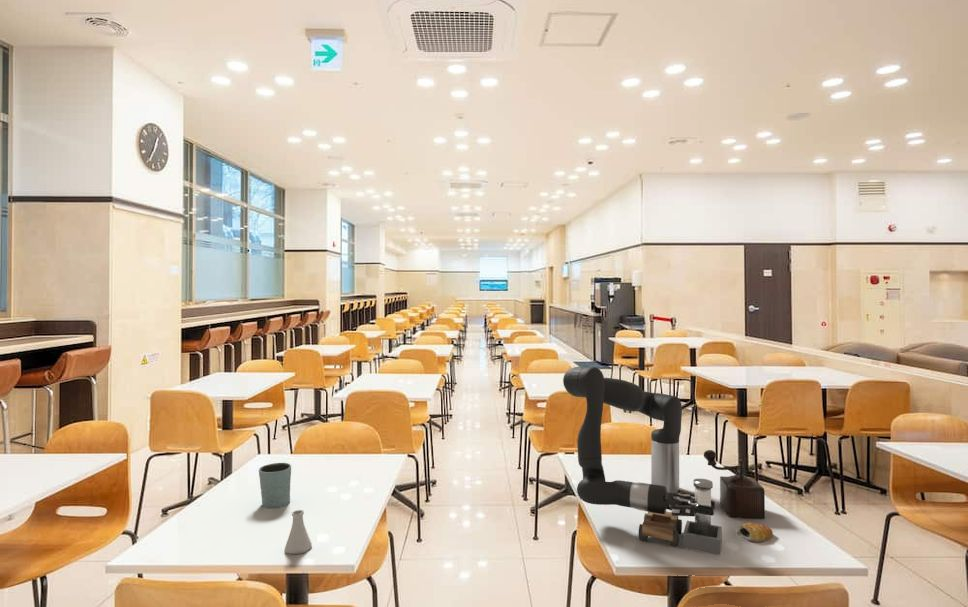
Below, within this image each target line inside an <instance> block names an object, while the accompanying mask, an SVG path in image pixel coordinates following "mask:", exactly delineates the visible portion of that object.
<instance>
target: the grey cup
mask: <svg viewBox="0 0 968 607" xmlns="http://www.w3.org/2000/svg"><path fill="white" fill-rule="evenodd" d="M258 477H259V484H260V485H259V486H260V491H261V492H260V494H261V495H260V496H261V504H262V505H261V506H262V508H265V507H266V508H265V509H277V507H279V508H283V507H285V506H288V504H290V501H291V478H292V464H290V463H287V462H277V463H276V462H275V463H274V462H273V463H269V464H266V465H263V466H261V467H259V469H258Z"/></svg>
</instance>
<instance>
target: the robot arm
mask: <svg viewBox="0 0 968 607" xmlns="http://www.w3.org/2000/svg"><path fill="white" fill-rule="evenodd" d="M562 384H563V387H564V389H565V391H566V392H567V393H569V394H570V395H571V396H573V397H575V398H585V399H586V400H585V401H586V413H585V416H584V420H583V423H582V424H581V427H580V428H579V432H578V434H577V435H578V436H577V441H576V443H577V444H576V445H577V448H576V450H577V459H578V460H577V461H578V465H579V467H581V471H582V479H581V480H580V481H579V482H578V484H577V487H576V493H577V496H578V497H579V499H580V500H581V501H583V502H585V503H587V504H591V505H598V506H599V505H602V506H605V505H607V506H608V505H609V506H610V505H616V506H619V507H626V508H632V509H634V510H638V511H642V512H647V513H648V512H653V513H659V514H665V513H666V511H667V510H668V511H671V512H672V515H674V516H678V517H695V514H698V513H699V514H705V515H711V517H712V516H714V513H715V508H716V503H715V500H712V499H711V506H706V505H700V504H699V506H698V504H695V493H692V492H688V491H685V490H681V489H680V436H681V433H682V417H683V406H682V401H681V399H680V398H679V397H678V396H676V395H672V394H671V395H670V394H664V393H659V392H649V391H644V390H643V388H641V386H639V385H637V384H636V383H633V382H631V381H627V380H624V379H619V378H612V377H604V374H603V372H602V370H600V368H598V367H595V366H574V367H572V368H569V369H568V370H567V371H566V372H565V373H564V375H563V379H562ZM604 404H605V405H608V406H611V407H613V408H617V409H620V410H623V411H626V412H639V413H640V414H643V415H645V416H647V417H649V418H652V419H653V420H656V421H662V422H663V426H662V428H656V429H654V430H652V431H651V433H650V434H651V436H650V437H651V439H650V440H651V442H650V444H651V445H650V447H651V448H650V449H651V455H650V456H651V457H650V458H651V459H650V461H651V465H650V466H651V470H650V471H651V478H650V481H651V482H650V483H646V482H635V481H633V482H632V481H628V480H627V481H626V480H620V479H617V480H613V481H606V476H605V471H604V466H603V461H602V460H603V456H602V443H601V442H602V441H601V440H602V438H601V437H602V436H601V435H602V432H601V430H602V420H603V419H602V418H603V410H604Z"/></svg>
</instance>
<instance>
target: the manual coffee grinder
mask: <svg viewBox="0 0 968 607" xmlns="http://www.w3.org/2000/svg"><path fill="white" fill-rule="evenodd" d="M703 457H704V459H706V461H707V466H711V467H712V468H714V469H715V470H718V471H729V470H737V469H739V471H736V472H735V474H734V475H729V476H720V477H719V506H720V508H721V509H722V510H723V512H724V513H725V514H726V516H727V517H729V518H731V519H746V520H765V519H766V516H765V515H766V514H765V513H766V510H765V509H766V506H765V504H766V502H765V500H766V499H765V494H766V493H765V488H764V487H763V486H762V485H761V484H760V483H759V482H758V481H757V480H755V478H753V477H750V476H746V475H745V474H744V467H745V464H744V462H745V460H743V459H742V458H741V459H739V463H738V464H737V465H734V466H733V465H732V466H723V467H722V466H717V464H718V463H717V462H716V457H717V453H716V452H715V451H714V450H711V449H708V450H705V451H704V452H703Z"/></svg>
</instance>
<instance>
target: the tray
mask: <svg viewBox="0 0 968 607" xmlns="http://www.w3.org/2000/svg"><path fill="white" fill-rule="evenodd" d="M722 530H723V526H721V525H715V524H711V537H708V536H702V535H697V534H695V521H692V520H686V523H685V527H684V529H683V538H682V539H683V542H682V545H683V549H685V550H686V549H687V550H691V551H697V552H703V553H706V554H707V553H708V554H712V555H718V556H720V555H721V550H722V543H723V536H722V535H723V534H722Z"/></svg>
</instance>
